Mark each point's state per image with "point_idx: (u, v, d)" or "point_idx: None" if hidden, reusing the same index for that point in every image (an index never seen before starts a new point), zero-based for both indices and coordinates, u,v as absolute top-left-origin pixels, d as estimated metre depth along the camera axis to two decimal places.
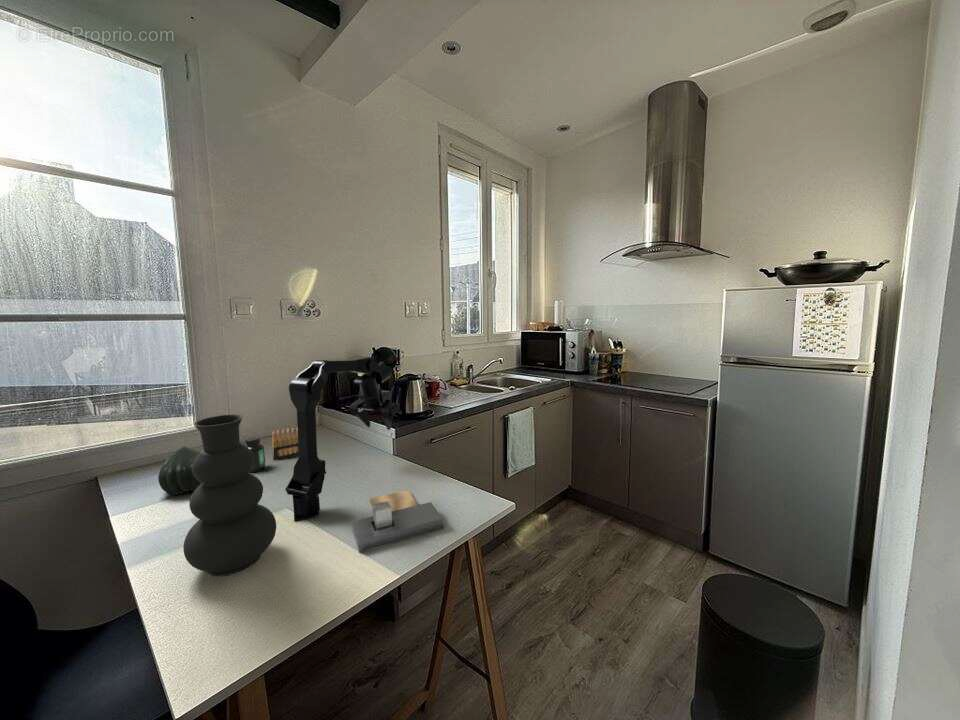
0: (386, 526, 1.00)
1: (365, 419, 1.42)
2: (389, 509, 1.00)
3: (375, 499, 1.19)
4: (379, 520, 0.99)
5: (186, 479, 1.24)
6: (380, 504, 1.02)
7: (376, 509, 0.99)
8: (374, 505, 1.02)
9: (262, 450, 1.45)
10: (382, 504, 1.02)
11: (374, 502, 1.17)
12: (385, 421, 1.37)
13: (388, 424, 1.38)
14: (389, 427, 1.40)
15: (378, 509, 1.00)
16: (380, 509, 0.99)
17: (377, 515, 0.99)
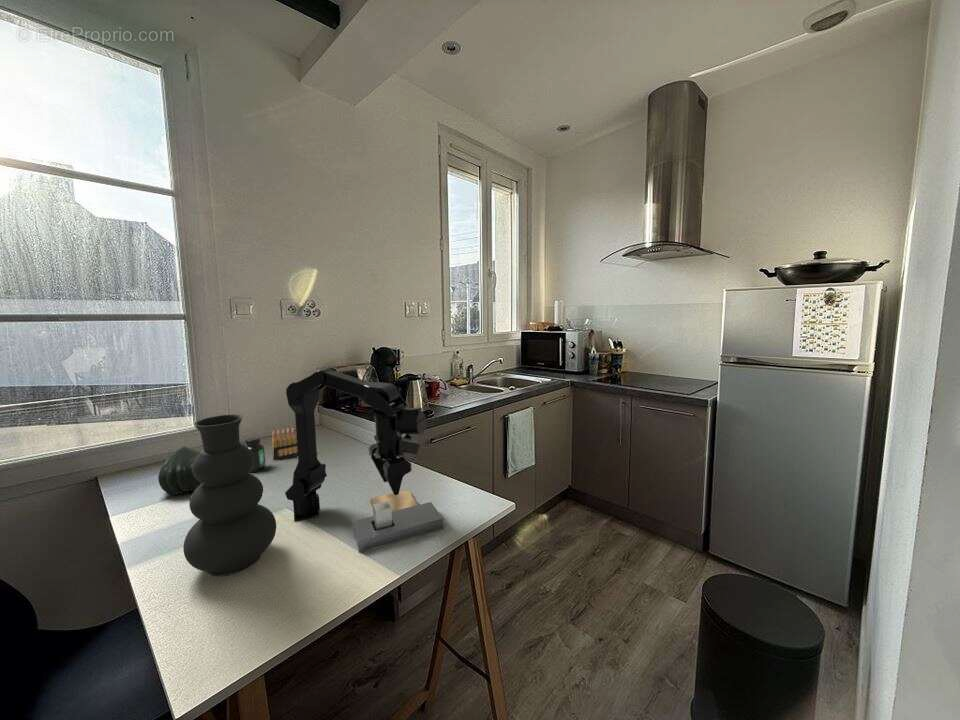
0: (386, 526, 1.00)
1: (382, 470, 1.07)
2: (389, 509, 1.00)
3: (375, 499, 1.19)
4: (379, 520, 0.99)
5: (186, 479, 1.24)
6: (380, 504, 1.02)
7: (376, 509, 0.99)
8: (374, 505, 1.02)
9: (262, 450, 1.45)
10: (382, 504, 1.02)
11: (374, 502, 1.17)
12: (387, 480, 0.97)
13: (393, 486, 0.98)
14: (395, 491, 0.99)
15: (378, 509, 1.00)
16: (380, 509, 0.99)
17: (377, 515, 0.99)
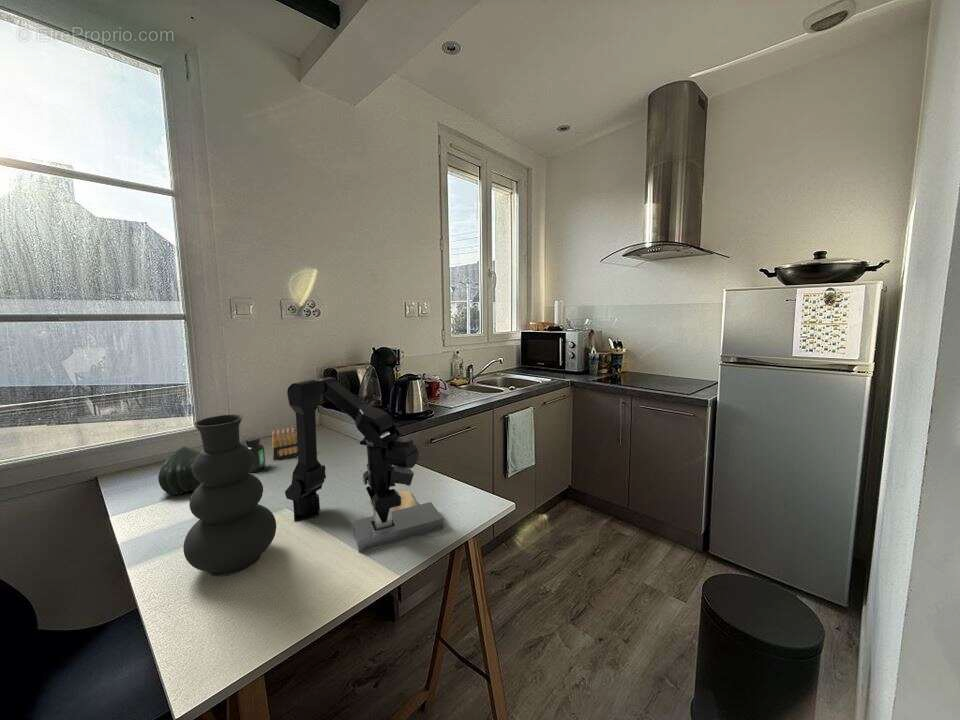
0: (386, 526, 1.00)
1: None
2: None
3: None
4: (379, 520, 0.99)
5: (186, 479, 1.24)
6: None
7: None
8: None
9: (262, 450, 1.45)
10: None
11: None
12: None
13: (380, 514, 0.98)
14: (383, 519, 0.99)
15: None
16: None
17: (377, 515, 0.99)
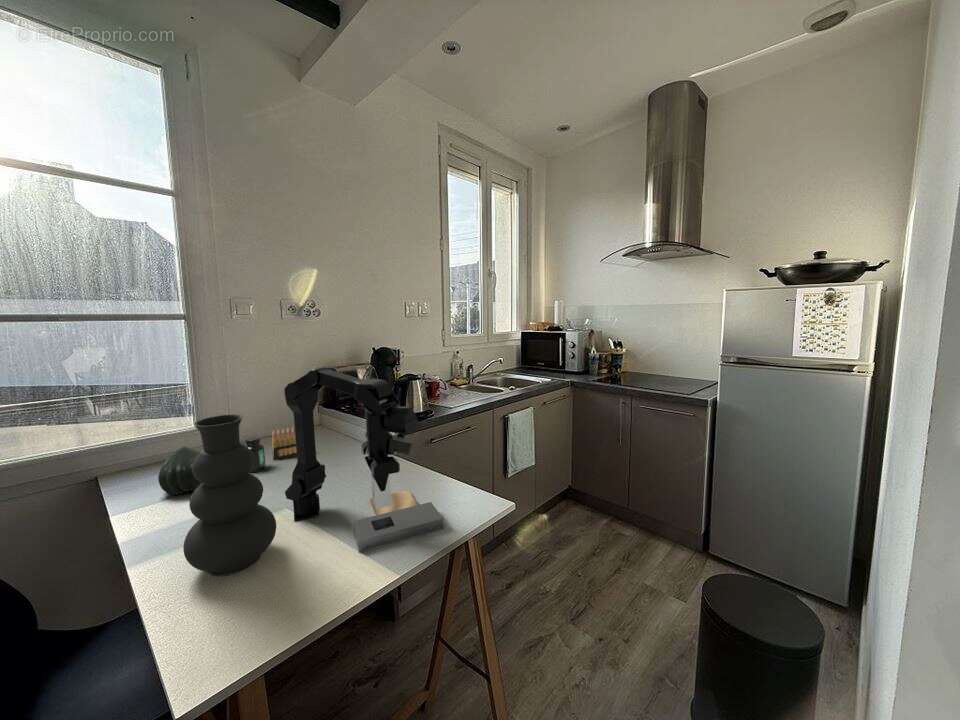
0: (384, 495, 1.00)
1: None
2: (388, 478, 0.99)
3: None
4: (377, 489, 0.99)
5: (186, 479, 1.24)
6: None
7: None
8: None
9: (262, 450, 1.45)
10: None
11: None
12: (373, 476, 0.96)
13: (379, 482, 0.97)
14: (381, 488, 0.98)
15: None
16: None
17: (375, 483, 0.98)
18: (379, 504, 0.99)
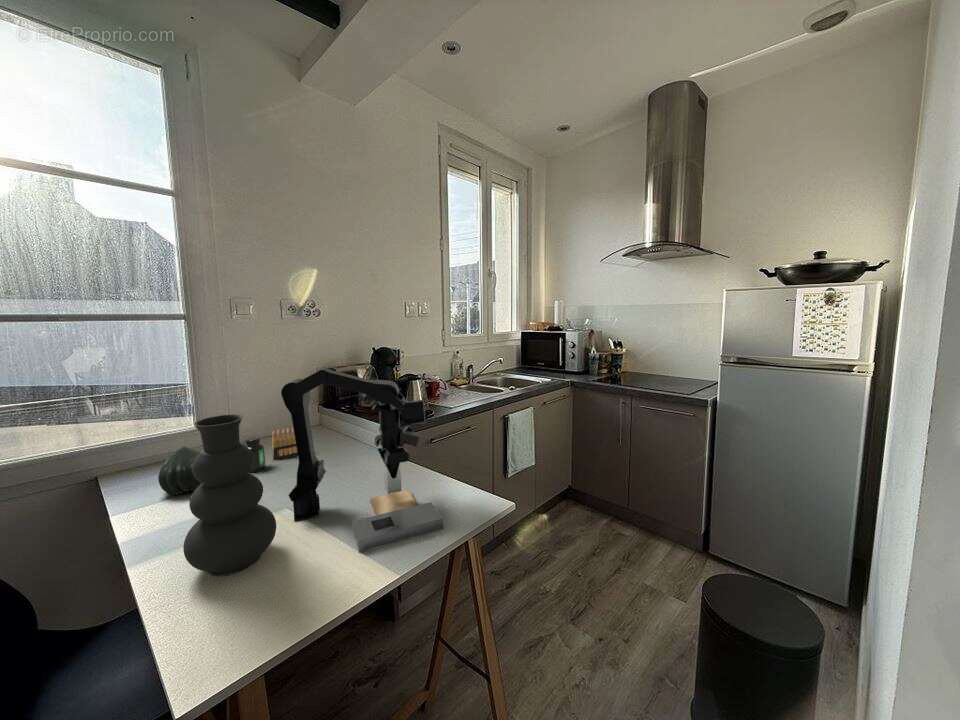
0: (396, 481, 1.14)
1: None
2: None
3: (375, 499, 1.19)
4: (389, 476, 1.13)
5: (186, 479, 1.24)
6: None
7: None
8: None
9: (262, 450, 1.45)
10: None
11: (374, 502, 1.17)
12: (386, 465, 1.11)
13: (390, 470, 1.12)
14: (393, 475, 1.13)
15: None
16: None
17: (388, 471, 1.12)
18: (391, 489, 1.13)
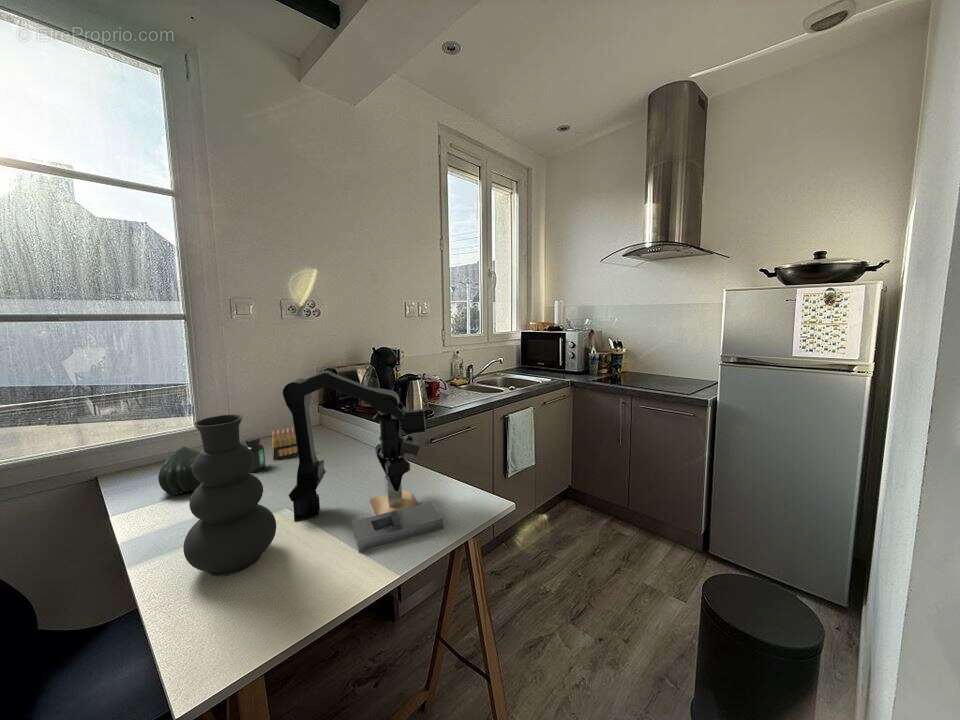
0: (396, 495, 1.14)
1: (386, 467, 1.19)
2: None
3: (375, 499, 1.19)
4: (390, 490, 1.13)
5: (186, 479, 1.24)
6: None
7: (387, 480, 1.13)
8: (386, 477, 1.16)
9: (262, 450, 1.45)
10: None
11: (374, 502, 1.17)
12: None
13: (393, 483, 1.10)
14: (396, 488, 1.11)
15: (389, 480, 1.14)
16: None
17: (389, 485, 1.13)
18: (392, 503, 1.14)
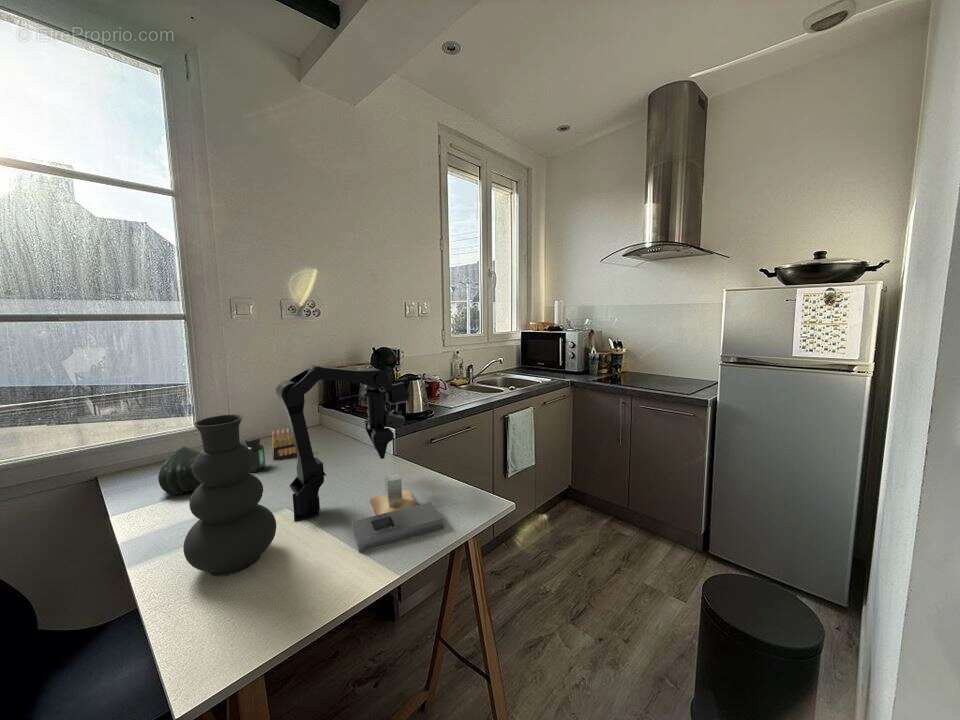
0: (396, 495, 1.14)
1: None
2: (399, 480, 1.14)
3: (375, 499, 1.19)
4: (390, 490, 1.13)
5: (186, 479, 1.24)
6: (391, 476, 1.16)
7: (387, 480, 1.13)
8: (386, 477, 1.16)
9: (262, 450, 1.45)
10: (393, 476, 1.16)
11: (374, 502, 1.17)
12: (374, 446, 1.20)
13: (379, 451, 1.21)
14: (381, 456, 1.22)
15: (389, 480, 1.14)
16: (392, 480, 1.13)
17: (389, 485, 1.13)
18: (392, 503, 1.14)
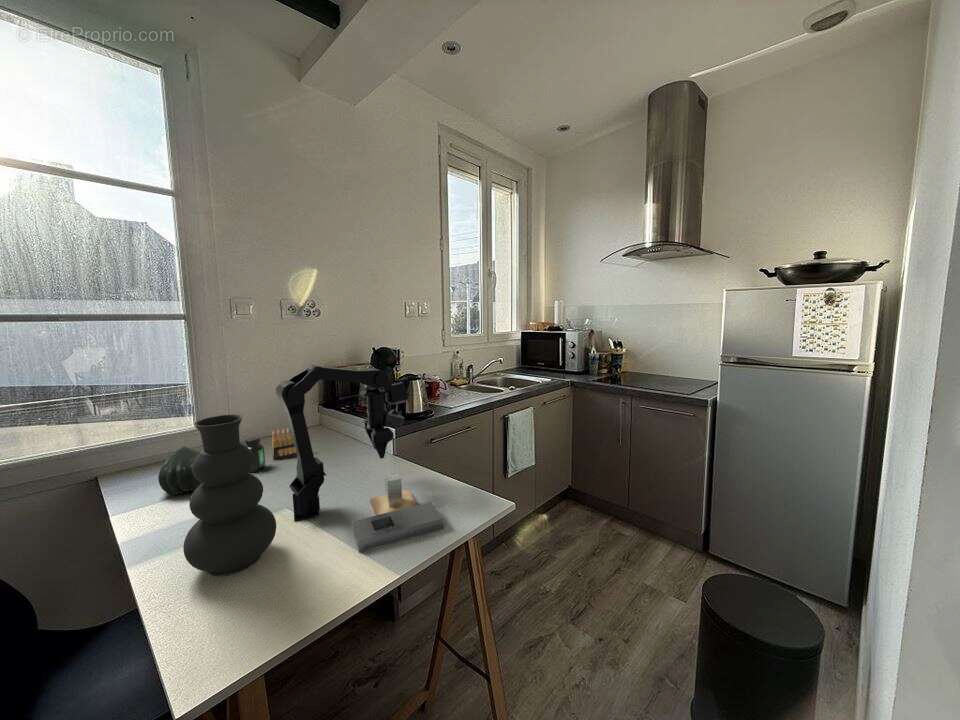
0: (396, 495, 1.14)
1: None
2: (399, 480, 1.14)
3: (375, 499, 1.19)
4: (390, 490, 1.13)
5: (186, 479, 1.24)
6: (391, 476, 1.16)
7: (387, 480, 1.13)
8: (386, 477, 1.16)
9: (262, 450, 1.45)
10: (393, 476, 1.16)
11: (374, 502, 1.17)
12: (374, 446, 1.20)
13: (379, 451, 1.21)
14: (381, 455, 1.22)
15: (389, 480, 1.14)
16: (392, 480, 1.13)
17: (389, 485, 1.13)
18: (392, 503, 1.14)
